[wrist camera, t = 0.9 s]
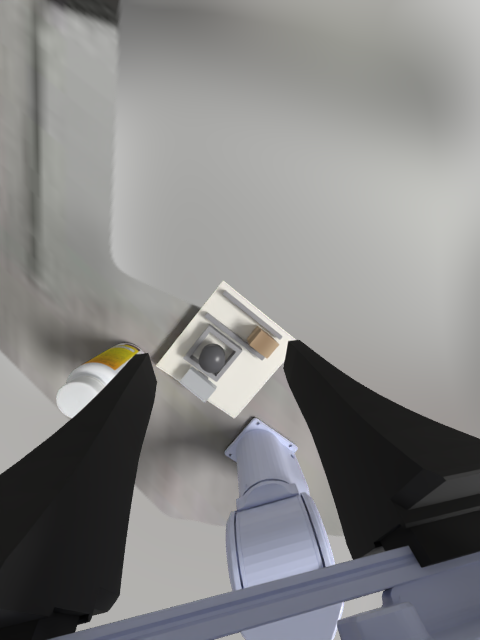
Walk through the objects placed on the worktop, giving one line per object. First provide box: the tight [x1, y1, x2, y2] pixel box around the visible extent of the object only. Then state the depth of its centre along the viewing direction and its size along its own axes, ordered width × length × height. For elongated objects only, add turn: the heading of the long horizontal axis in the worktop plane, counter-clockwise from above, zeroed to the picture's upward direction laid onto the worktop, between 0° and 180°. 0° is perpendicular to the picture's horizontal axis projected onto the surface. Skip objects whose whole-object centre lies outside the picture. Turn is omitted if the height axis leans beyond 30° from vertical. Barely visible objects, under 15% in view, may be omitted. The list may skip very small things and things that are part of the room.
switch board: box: [156, 281, 296, 419], centre depth 28 cm, size 14×15×3 cm
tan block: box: [247, 326, 279, 359], centre depth 27 cm, size 3×2×3 cm
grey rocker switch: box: [180, 367, 217, 403], centre depth 27 cm, size 4×2×1 cm, turn 51°
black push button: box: [199, 343, 225, 373], centre depth 26 cm, size 3×3×2 cm
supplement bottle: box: [56, 343, 144, 418], centre depth 24 cm, size 6×6×10 cm
